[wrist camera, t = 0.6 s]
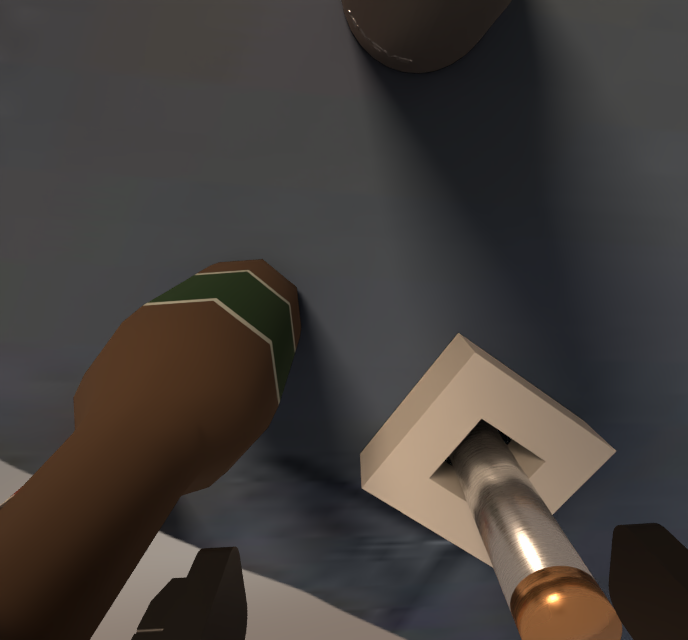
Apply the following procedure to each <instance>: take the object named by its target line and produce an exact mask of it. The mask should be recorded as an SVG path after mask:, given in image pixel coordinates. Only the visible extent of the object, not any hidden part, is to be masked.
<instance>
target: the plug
mask: <svg viewBox="0 0 688 640" xmlns="http://www.w3.org/2000/svg"><path fill="white" fill-rule="evenodd" d="M449 457H450V460H451V463H452V465H453V468H454V470H455V473H456V475H457V478H458V480H459V483H460V485H461V488H462V490H463V493H464V495H465V498H466V500H467V503H468V505H469V508H470V510H471V513H472V515H473V518H474V520H475V523H476V525H477V528H478V530H479V533H480V535H481V538H482V541H483V543H484V546H485V548H486V551H487V553H488V556H489V558H490V561H491V563H492V566H493V568H494V571H495V573H496V576H497V578H498V581H499V583H500V586H501V588H502V591H503V593H504V596H505V598H506V601H507V603H508V606H509V608H510V611H511V613H512V616H513V619H514V621H515V624H516V626H517V629H518V631H519V634H520V636H521V639H522V640H620V639H621V635H622V623H621V621H620V619H619V617H618V615H617V614H616V611H615V610H614V608H613V607H612V605H611V604H610V602H609V601H608V599H607V597H606V596H605V594H604V593H603V591H602V590H601V588H600V587H599V585H598V584H597V582H596V581H595V579H594V578H593V576H592V575H591V573H590V571H589V570H588V568H587V567H586V565H585V564H584V562H583V561H582V559H581V558H580V556H579V555H578V553H577V552H576V550H575V549H574V547H573V546H572V544H571V542H570V541H569V539H568V538H567V536H566V535H565V533H564V532H563V530H562V529H561V527H560V526H559V524H558V523H557V521H556V520H555V518H554V517H553V515H552V513H551V512H550V510H549V509H548V507H547V506H546V504H545V503H544V501H543V500H542V498H541V497H540V495H539V494H538V492H537V491H536V489H535V487H534V486H533V484H532V483H531V481H530V480H529V478H528V477H527V475H526V474H525V472H524V471H523V469H522V468H521V466H520V465H519V463H518V462H517V460H516V458H515V457H514V455H513V454H512V452H511V451H510V449H509V448H508V446H507V445H506V443H505V442H504V440H503V439H502V437H501V436H500V434H499V433H498V431H497V429H496V428H495V427H494V426H492V425H491V424H489V423H488V422H486V421H485V420H483V419H481V420H480V421H479V422H478V423H477V424H476V426H475V427H474V428H473V429H472V430H471V431H470V432H469V433H468V435H467V436H466V437H465V438H464V439H463V440H462V441H461V443H460V444H459V445H458V446H457V447H456V448H455V449H454V450H453V452H452V453H451V454H450V455H449Z"/></svg>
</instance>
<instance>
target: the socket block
mask: <svg viewBox="0 0 688 640" xmlns="http://www.w3.org/2000/svg"><path fill="white" fill-rule="evenodd" d="M481 419H483V420H485V421H486V422H488V423H489V424H491V425H492V426H494V427H495V428H497V429H498V430H500V431H501V432H503V433H504V434H506V435H507V436H509V437H510V438H512V440H511V441H510V443H509V444H508V445H507V446H508V448H509V449H510V451H511V452H512V454H513V455H514V457H515V458H516V460H517V462H518V463H519V465H520V466H521V468H522V469H523V471H524V472H525V474H526V475H527V477H528V478H529V480H530V481H531V483H532V484H533V486H534V487H535V489H536V491H537V492H538V494H539V495H540V497H541V498H542V500H543V501H544V503H545V504H546V506H547V507H548V509H549V510H550V512H551V513H552V515H553V514H554V513H555V512H556V511H557V510H558V509H559V508H560V507H561V506H562V505H563V504H564V503H565V502H566V501H567V500H568V499H569V498H570V497H571V496H572V495H573V494H574V493H575V492H576V491H577V490H578V489H579V488H580V487H581V486H582V485H583V484H584V483H585V482H586V481H587V480H588V479H589V478H590V477H591V476H592V475H593V474H594V473H595V472H596V471H597V470H598V469H599V468H600V467H601V466H602V465H603V464H604V463H605V462H606V461H607V460H608V459H609V458H610V457H611V456H612V455H613V454H614V453H615V452H616V450H615V449H614V448H613V447H612V446H610V445H609V444H608V443H607V442H606V441H605V440H604V439H603V438H602V437H601V436H600V435H599V434H597V433H596V432H595V431H594V430H593V429H592V428H591V427H590V426H589V425H588V424H587V423H586V422H584V421H583V420H582V419H581V418H579V417H578V416H576V415H575V414H573V413H572V412H571V411H569V410H568V409H566V408H565V407H563V406H562V405H561V404H559V403H558V402H556V401H555V400H554V399H552V398H551V397H549V396H548V395H546V394H545V393H544V392H542V391H541V390H539V389H538V388H536V387H535V386H534V385H532V384H531V383H529V382H528V381H526V380H525V379H524V378H522V377H521V376H519V375H518V374H517V373H515V372H514V371H512V370H511V369H509V368H508V367H507V366H505V365H504V364H502V363H501V362H499V361H498V360H497V359H495V358H494V357H492V356H491V355H489V354H488V353H487V352H485V351H484V350H482V349H481V348H479V347H478V346H477V345H475V344H474V343H472V342H471V341H470V340H468V339H467V338H465V337H464V336H462V335H461V334H460V333H458V334H457V335H456V336H455V338H454V339H453V340H452V341H451V343H450V344H449V345H448V346H447V347H446V349H445V350H444V351H443V352H442V354H441V355H440V356H439V357H438V359H437V360H436V361H435V362H434V363H433V365H432V366H431V367H430V368H429V370H428V371H427V372H426V373H425V375H424V376H423V377H422V378H421V379H420V381H419V382H418V383H417V384H416V386H415V387H414V388H413V389H412V391H411V392H410V393H409V394H408V395H407V397H406V398H405V399H404V400H403V402H402V403H401V404H400V405H399V407H398V408H397V409H396V410H395V411H394V413H393V414H392V415H391V416H390V418H389V419H388V420H387V421H386V423H385V424H384V425H383V426H382V427H381V429H380V430H379V431H378V432H377V434H376V435H375V436H374V437H373V439H372V440H371V441H370V442H369V443H368V445H367V446H366V447H365V448H364V450H363V451H362V452H361V453H360V463H361V485H362V489H364V490H366V491H367V492H369V493H371V494H372V495H374V496H376V497H377V498H379V499H380V500H382V501H384V502H385V503H387V504H389V505H390V506H392V507H394V508H395V509H397V510H399V511H400V512H402V513H404V514H405V515H407V516H409V517H410V518H412V519H414V520H415V521H417V522H419V523H420V524H422V525H423V526H425V527H427V528H428V529H430V530H432V531H433V532H435V533H437V534H438V535H440V536H442V537H443V538H445V539H447V540H448V541H450V542H452V543H453V544H455V545H457V546H458V547H460V548H461V549H463V550H465V551H466V552H468V553H470V554H471V555H473V556H475V557H476V558H478V559H480V560H481V561H483V562H485V563H486V564H488V565H490V566H491V567H493V566H492V563H491V561H490V558H489V556H488V553H487V551H486V548H485V546H484V543H483V541H482V538H481V535H480V533H479V530H478V528H477V525H476V523H475V520H474V518H473V515H472V513H471V510H470V508H469V505H468V503H467V500H466V498H465V495H464V493H463V490H462V488H461V485H460V483H459V480H458V478H457V475H456V473H455V470H454V468H453V466H451V465H450V464H448V463H447V462H445V460H446V458H447V457H448V456H449V455H450V454H451V453H452V452H453V450H454V449H455V448H456V447H457V446H458V445H459V444H460V443H461V441H462V440H463V439H464V438H465V437H466V436H467V435H468V433H469V432H470V431H471V430H472V429H473V428H474V427H475V426H476V424H477V423H478V422H479V421H480V420H481Z"/></svg>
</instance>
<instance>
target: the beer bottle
mask: <svg viewBox="0 0 688 640" xmlns="http://www.w3.org/2000/svg"><path fill="white" fill-rule="evenodd" d="M300 333H301V321H300V312H299V303H298V294H297V287H296V286H295V285H293V284H292V283H291V282H290V281H288V280H287V279H286V278H285V277H284V276H282V275H281V274H280V273H279V272H277V271H276V270H275V269H274V268H273V267H271V266H270V265H269V264H268V263H266V262H265V261H264V260H263V259H259V260H246V261H232V262H219V263H216V264H214V265H211V266H209V267H207V268H206V269H204V270H202V271H201V272H199V273H197V274H196V275H194V276H192V277H190V278H189V279H187V280H185V281H184V282H182V283H180V284H179V285H177V286H175V287H174V288H172V289H170V290H169V291H167V292H165V293H163V294H162V295H160V296H158V297H157V298H155V299H153V300H152V301H150V302H148V303H147V304H145V305H143V306H142V307H141V308H139V309H138V310H137V311H136V312H134V313H133V314H132V315H131V316H130V317H128V318H127V319H126V320H125V321H123V322H122V324H121V325H120V326H119V328H118V329H117V330H116V332H115V333H114V335H113V336H112V337H111V339H110V340H109V341H108V343H107V344H106V345H105V347H104V348H103V350H102V351H101V352H100V354H99V355H98V356H97V358H96V359H95V361H94V362H93V363H92V365H91V366H90V367H89V369H88V370H87V372H86V373H85V374H84V376H83V378H82V381H81V383H80V385H79V387H78V389H77V391H76V394H75V396H74V417H75V431H74V432H73V434H72V435H71V436H70V437H69V438H68V439H67V440H66V441H65V442H64V444H63V445H62V446H61V447H60V448H59V449H58V450H57V451H56V452H55V453H54V454H53V455H52V456H51V457H50V458H49V459H48V460H47V461H46V462H45V463H44V464H43V466H42V467H41V468H40V469H39V470H38V471H37V472H36V473H35V474H34V475H33V476H32V477H31V478H30V479H29V480H28V481H27V482H26V483H25V484H24V486H22V488H21V489H20V490H19V491H18V492H17V493H16V494H15V495H14V496H13V497H12V498H11V499H10V500H9V501H8V502H7V503H6V504H5V505H4V506H3V507H2V508H1V510H0V640H90V639H91V637H92V635H93V634H94V632H95V631H96V629H97V627H98V626H99V624H100V623H101V621H102V620H103V618H104V616H105V615H106V613H107V612H108V610H109V609H110V607H111V605H112V604H113V602H114V601H115V599H116V597H117V596H118V594H119V593H120V591H121V589H122V588H123V586H124V585H125V583H126V581H127V580H128V579H129V577H130V575H131V574H132V572H133V571H134V569H135V568H136V566H137V564H138V563H139V561H140V559H141V558H142V556H143V555H144V553H145V552H146V550H147V549H148V547H149V545H150V544H151V542H152V541H153V539H154V538H155V536H156V534H157V533H158V531H159V530H160V528H161V526H162V525H163V523H164V522H165V520H166V519H167V517H168V515H169V514H170V512H171V511H172V509H173V508H174V506H175V504H176V503H177V501H178V500H179V498H180V497H181V496H182V495H185V494H188V493H191V492H195V491H198V490H201V489H204V488H207V487H210V486H211V485H212V484H213V483H214V482H215V481H217V480H218V479H219V478H220V477H221V476H222V475H224V474H225V473H226V472H227V471H228V470H229V469H230V468H231V467H232V466H233V465H234V464H235V463H236V461H237V460H238V459H239V458H240V457H241V456H242V455H243V454H244V453H245V452H246V451H247V450H248V448H249V447H250V446H251V445H252V444H253V443H254V442H255V441H256V440H257V439H258V438H259V437H260V436H261V434H262V433H263V432H264V431H265V430H266V429H267V428H268V427H269V425H270V423H271V421H272V418H273V416H274V414H275V412H276V410H277V408H278V406H279V403H280V400H281V396H282V393H283V390H284V387H285V384H286V380H287V377H288V374H289V371H290V367H291V364H292V361H293V358H294V355H295V351H296V348H297V345H298V342H299V338H300Z"/></svg>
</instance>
